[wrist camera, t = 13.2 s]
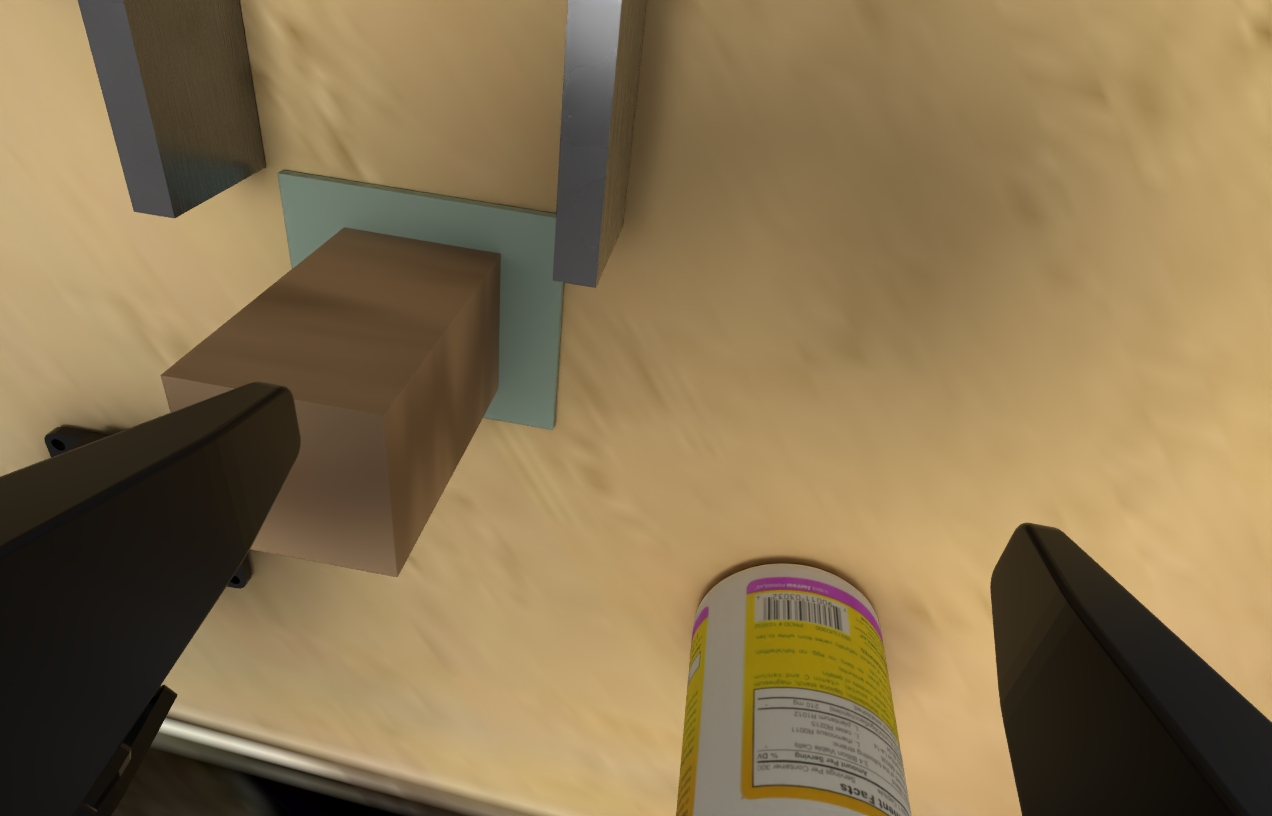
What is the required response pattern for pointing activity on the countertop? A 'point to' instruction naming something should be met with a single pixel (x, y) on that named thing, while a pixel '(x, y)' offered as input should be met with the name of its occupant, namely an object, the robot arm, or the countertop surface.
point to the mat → (507, 230)
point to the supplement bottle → (789, 701)
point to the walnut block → (363, 387)
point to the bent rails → (230, 135)
